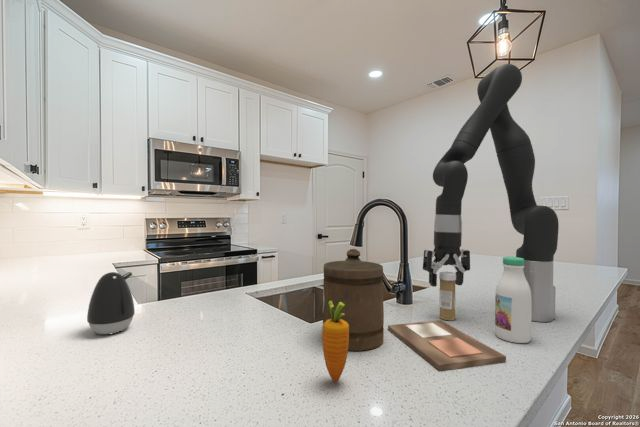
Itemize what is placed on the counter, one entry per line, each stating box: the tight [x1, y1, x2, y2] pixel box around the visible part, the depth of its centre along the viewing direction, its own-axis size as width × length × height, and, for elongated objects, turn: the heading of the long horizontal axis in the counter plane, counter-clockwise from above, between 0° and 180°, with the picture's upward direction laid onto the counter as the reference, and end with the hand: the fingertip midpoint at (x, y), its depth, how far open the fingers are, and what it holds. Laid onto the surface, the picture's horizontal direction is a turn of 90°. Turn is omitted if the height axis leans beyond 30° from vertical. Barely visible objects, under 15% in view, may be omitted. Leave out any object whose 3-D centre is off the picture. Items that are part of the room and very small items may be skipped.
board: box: [387, 319, 507, 372], centre depth 74 cm, size 16×22×2 cm
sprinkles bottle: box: [438, 271, 457, 322], centre depth 92 cm, size 5×5×14 cm
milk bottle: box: [494, 256, 532, 344], centre depth 78 cm, size 8×8×20 cm
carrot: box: [321, 301, 349, 383], centre depth 57 cm, size 5×5×15 cm
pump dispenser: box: [86, 271, 136, 335], centre depth 81 cm, size 10×10×15 cm
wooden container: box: [322, 248, 385, 352], centre depth 77 cm, size 15×15×22 cm
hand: (446, 285), depth 92 cm, fingers open, 8 cm apart
